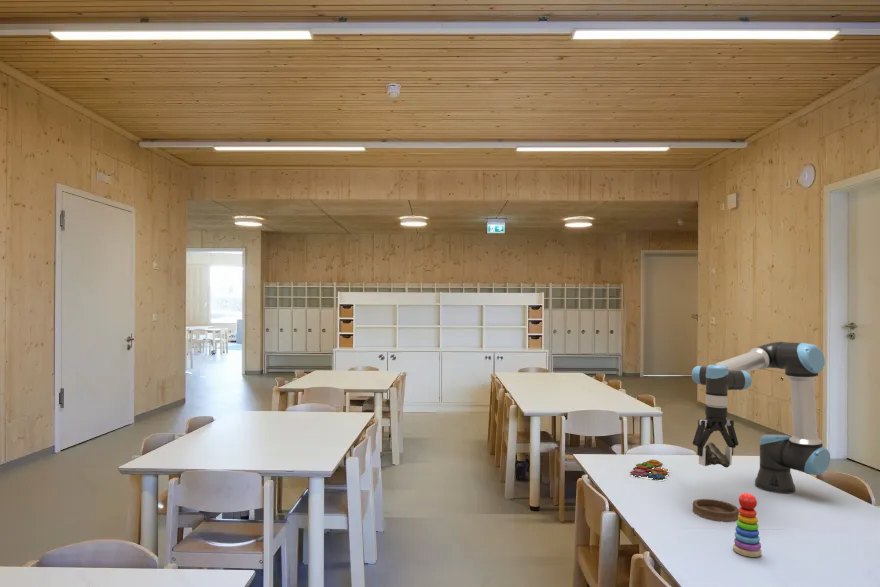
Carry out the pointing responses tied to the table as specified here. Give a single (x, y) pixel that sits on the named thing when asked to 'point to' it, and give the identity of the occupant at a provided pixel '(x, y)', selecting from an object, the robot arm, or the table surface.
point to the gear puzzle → (650, 470)
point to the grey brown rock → (715, 456)
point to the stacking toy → (747, 528)
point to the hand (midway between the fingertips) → (715, 464)
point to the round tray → (715, 510)
